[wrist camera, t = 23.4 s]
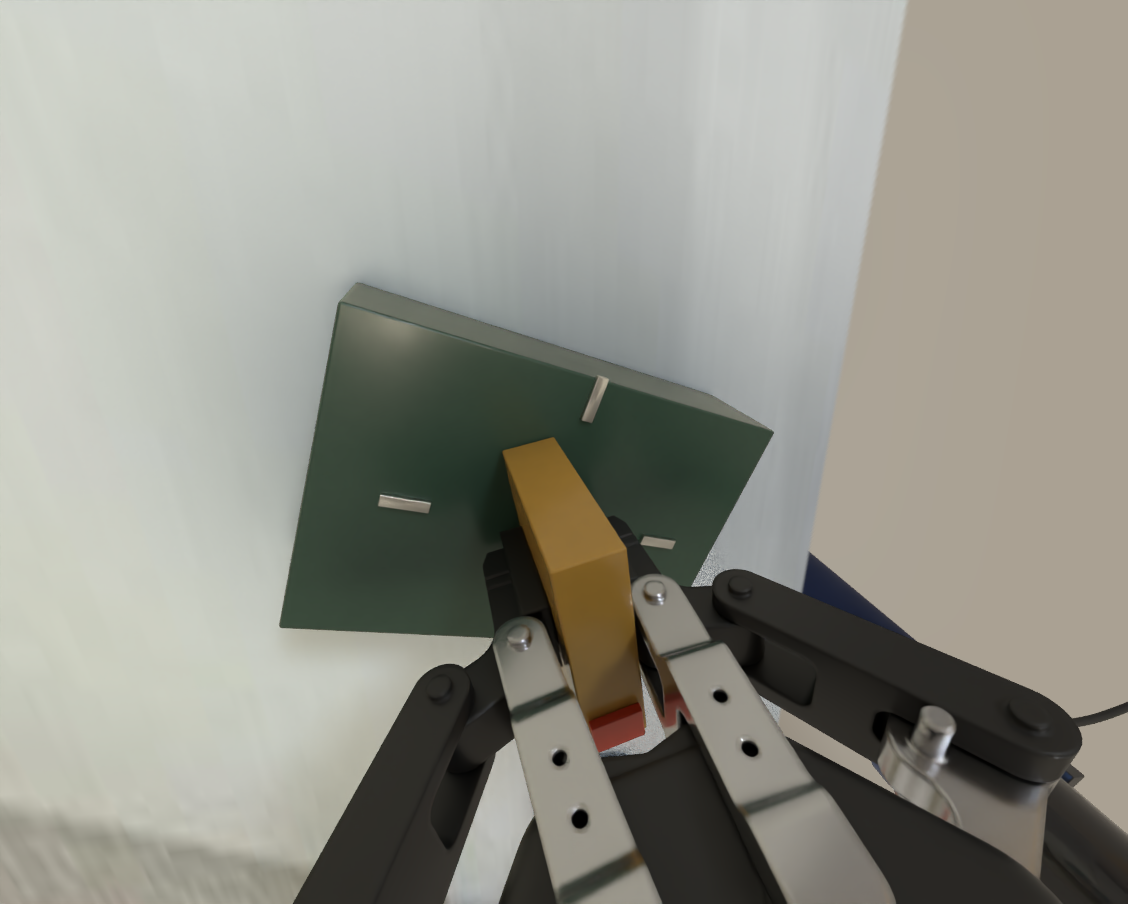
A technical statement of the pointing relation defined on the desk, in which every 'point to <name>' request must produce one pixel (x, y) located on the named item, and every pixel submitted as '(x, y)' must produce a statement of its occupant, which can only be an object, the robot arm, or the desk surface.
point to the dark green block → (486, 464)
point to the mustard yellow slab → (581, 588)
